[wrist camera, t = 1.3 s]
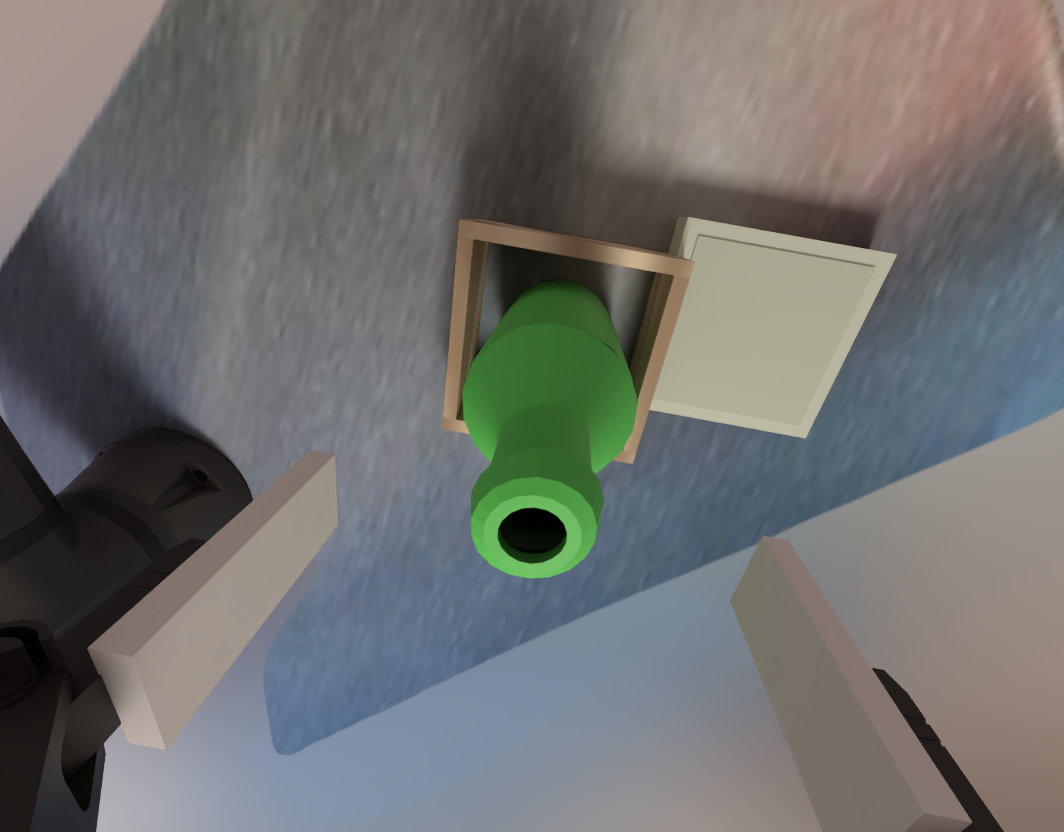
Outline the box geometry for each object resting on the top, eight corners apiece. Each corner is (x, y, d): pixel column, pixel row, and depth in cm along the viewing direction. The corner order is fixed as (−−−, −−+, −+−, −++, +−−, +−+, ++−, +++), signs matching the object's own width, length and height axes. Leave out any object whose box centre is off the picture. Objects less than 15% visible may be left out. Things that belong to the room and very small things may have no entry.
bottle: (556, 253, 33) (522, 335, 10) (633, 330, 35) (746, 539, 12) (483, 335, 36) (338, 534, 14) (558, 402, 38) (539, 671, 16)
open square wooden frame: (460, 399, 39) (442, 428, 34) (478, 218, 32) (459, 219, 27) (624, 429, 39) (632, 463, 33) (674, 254, 32) (695, 261, 27)
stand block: (628, 392, 37) (633, 407, 34) (678, 216, 31) (688, 216, 28) (788, 422, 37) (806, 439, 34) (868, 251, 31) (898, 254, 28)
